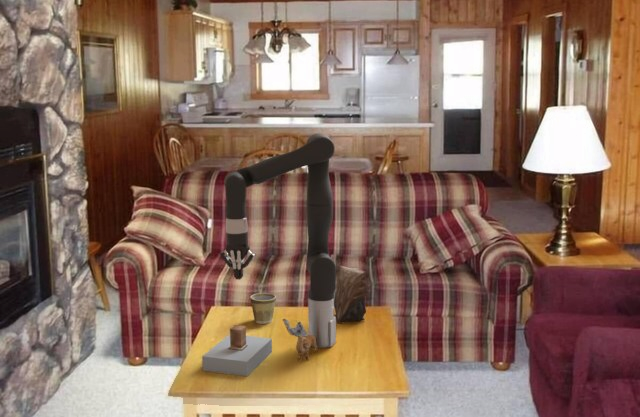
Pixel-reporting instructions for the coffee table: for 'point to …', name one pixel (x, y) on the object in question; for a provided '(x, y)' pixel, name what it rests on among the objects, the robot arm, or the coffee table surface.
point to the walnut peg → (238, 337)
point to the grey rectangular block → (237, 356)
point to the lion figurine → (306, 346)
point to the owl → (350, 295)
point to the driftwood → (296, 329)
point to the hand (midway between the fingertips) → (238, 278)
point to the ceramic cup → (263, 307)
